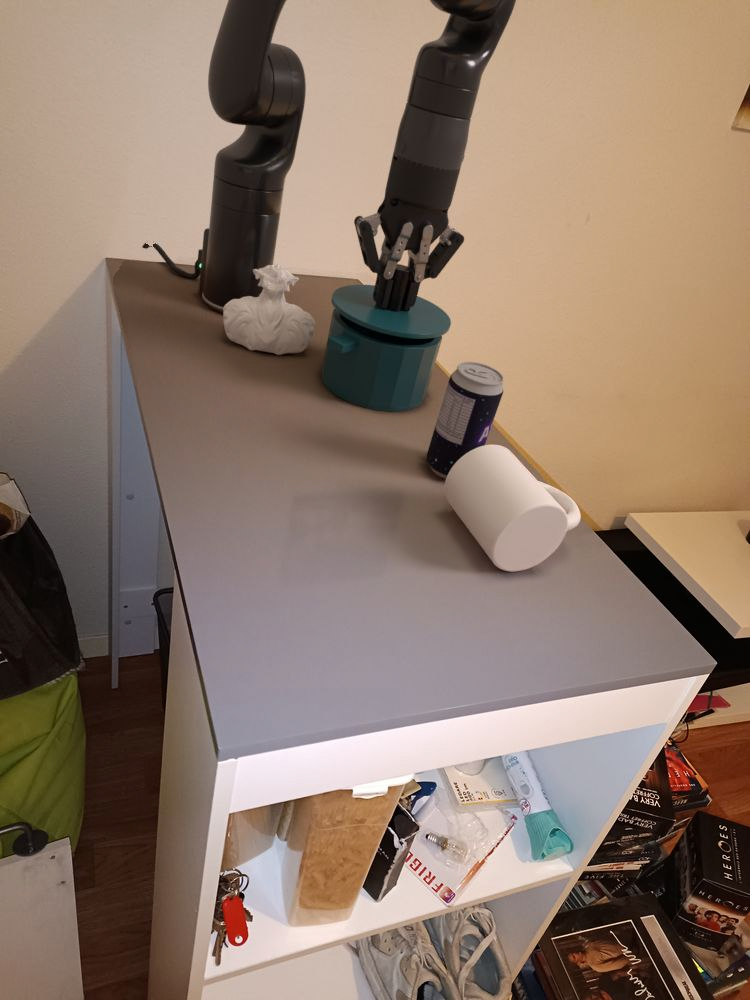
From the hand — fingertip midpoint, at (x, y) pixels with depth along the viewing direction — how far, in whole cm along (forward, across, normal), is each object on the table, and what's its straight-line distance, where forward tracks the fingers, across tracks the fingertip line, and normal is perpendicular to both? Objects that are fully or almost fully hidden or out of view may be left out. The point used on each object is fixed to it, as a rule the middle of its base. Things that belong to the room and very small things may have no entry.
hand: (392, 307), depth 89 cm
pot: (+11, 0, 0) cm, 11 cm away
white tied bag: (+11, +12, -10) cm, 19 cm away
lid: (+1, 0, 0) cm, 1 cm away
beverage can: (+11, -2, +20) cm, 23 cm away
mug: (+11, -3, +32) cm, 34 cm away
